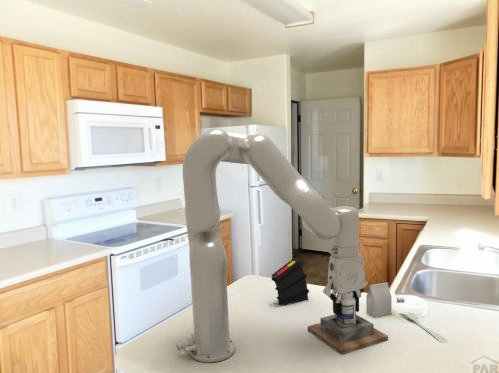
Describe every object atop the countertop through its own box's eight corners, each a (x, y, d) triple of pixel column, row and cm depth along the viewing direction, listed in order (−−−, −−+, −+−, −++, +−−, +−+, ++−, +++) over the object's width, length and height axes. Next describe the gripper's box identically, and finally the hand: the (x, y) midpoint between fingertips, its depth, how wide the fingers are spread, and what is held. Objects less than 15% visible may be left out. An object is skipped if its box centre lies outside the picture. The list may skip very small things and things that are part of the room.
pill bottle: (341, 317, 118) (341, 285, 117) (359, 322, 115) (358, 289, 114) (333, 324, 114) (332, 291, 113) (350, 329, 111) (350, 295, 110)
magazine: (316, 293, 143) (300, 259, 138) (288, 316, 138) (271, 281, 134) (310, 290, 146) (294, 257, 142) (282, 312, 141) (265, 278, 137)
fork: (441, 352, 108) (442, 343, 108) (395, 314, 128) (396, 306, 127) (449, 351, 109) (450, 342, 108) (403, 313, 129) (404, 305, 128)
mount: (342, 354, 104) (341, 339, 104) (307, 330, 118) (307, 316, 118) (388, 339, 111) (388, 325, 110) (350, 318, 125) (350, 305, 125)
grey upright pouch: (391, 314, 127) (391, 284, 126) (373, 318, 125) (373, 287, 124) (383, 310, 131) (383, 280, 130) (366, 313, 128) (366, 283, 127)
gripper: (328, 258, 105) (329, 324, 107) (378, 248, 112) (378, 310, 114) (312, 252, 112) (313, 314, 114) (359, 243, 119) (360, 301, 121)
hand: (346, 311), depth 114 cm, fingers closed on pill bottle, 5 cm apart
